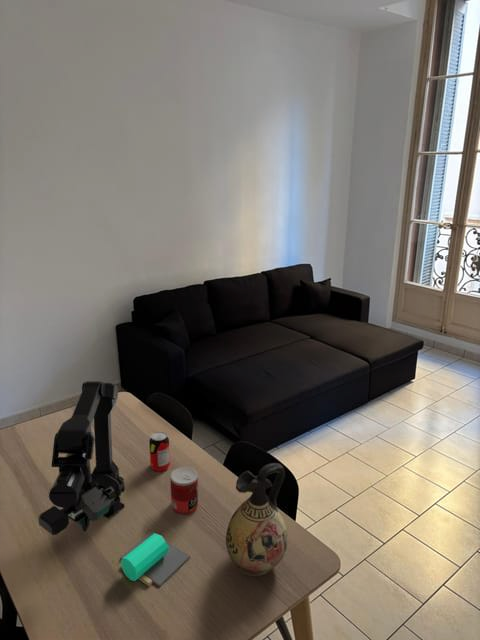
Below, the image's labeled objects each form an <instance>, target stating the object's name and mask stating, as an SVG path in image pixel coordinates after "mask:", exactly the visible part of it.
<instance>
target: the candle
mask: <svg viewBox="0 0 480 640" xmlns="http://www.w3.org/2000/svg"><path fill="white" fill-rule="evenodd" d="M153 533H154V534H153V535H152V536H150V537H149V538H148V539H147V540H145V541H144V542H143V543H141V544H140V545H139V546H138V547H136V548H135V549H134V550H133V551H131V552H130V553H129V554H128V555H126V556H125V557H124V558H123V559H122V560H121V559H120V567H121V570H122V571H123V573H124V575H125V576H126V577H127V578H128V579H129V580H131V581H134V582H136V581H137V580H139V579H138V578H139V577H140V576H142V575H143V574H144V573H145V572H146V571H147V570H149V569H150V568H151V567H152V566H153V565H154V564H156V563H157V562H158V561H159V560H160V559H161V558H162V557H164V556H165V555H166V554H167V553H168V545H167V544H166V542H165V540H166V539H165V538H164V537H163V535H161V534H158V533H155V532H153Z"/></svg>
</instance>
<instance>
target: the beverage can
mask: <svg viewBox="0 0 480 640" xmlns="http://www.w3.org/2000/svg"><path fill="white" fill-rule="evenodd" d="M149 461H150V462H149V463H150V467H151V469H153V470H154V471H157V472H163V471H165V470H167V469H169V467H170V465H171V457H170V439H169V437H168V434H167V433H166V432H165V431H155V432H153V433H152V434H151V435H150V438H149Z"/></svg>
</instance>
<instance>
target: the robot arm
mask: <svg viewBox="0 0 480 640" xmlns="http://www.w3.org/2000/svg"><path fill="white" fill-rule="evenodd" d="M118 397H119V389H118V386H117V385H115V384H114V383H113V382H104V381H103V382H102V381H101V380H95V381H94V380H93V381H92V380H87V381H84V382H82V386H81V392H80V395H79V398H78V401H77V402H76V406H75V407H74V410H73V413H72V415H71V417H70V418H69V419H67V420H65V421H63V422H62V424H61V425H60V427H59V428H58V430H57V432H56V433H55V434H54V438H53V439H54V440H53V447H52V456H51V458H52V459H51V465H50V467H51V468H58V475H57V476H56V478H55V481H54V483H53V485H52V487H51V488H50V490H49V494H48V498H49V501H50V502H51V503H52V504H53V506H51V507H50V508H48V509H46V510H44V511H43V512H41V514H39V515H38V519H37V520H38V525H39V526H40V527H42V528H43V529H44V530H45V531H47V532H48V533H50V534H51V535H52V536H55V535H58V534H60V533H61V532H63V531H64V530H65V529H67V527H68V526H69V524H70V521H72V522H74V523H75V524H76V525H77V526H78V527H79V529H80V530H81V532H82V533H86V532H87V531H88V529H89V525H90V522H91V521H92V522H96V521H99V519H100V518H102V517H104V518H106V519H110V518H111V517H112V516H114V515H115V514H117V513H119V511H121V510H122V509H123V508H125V507H126V505H125V504H124V503H123V502H122V501H121V496H122V493H125V490H126V489H125V488H126V487H125V481H124V480H125V479H124V477H122V476H120V470H119V469H120V468H119V467H118V465H117V464H116V463H115V462H114V460H113V444H112V442H113V438H112V413H111V412H112V410H113V408H114V407H115V405H116V403H117V400H118ZM92 423H93V431H94V434H93V432H92ZM60 454H61V455H62V454H64V455H65V454H66V455H65V456H60ZM94 454H95V457H94V458H95V466H94V468H93V470H92V471H91V460H93V455H94Z"/></svg>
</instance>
